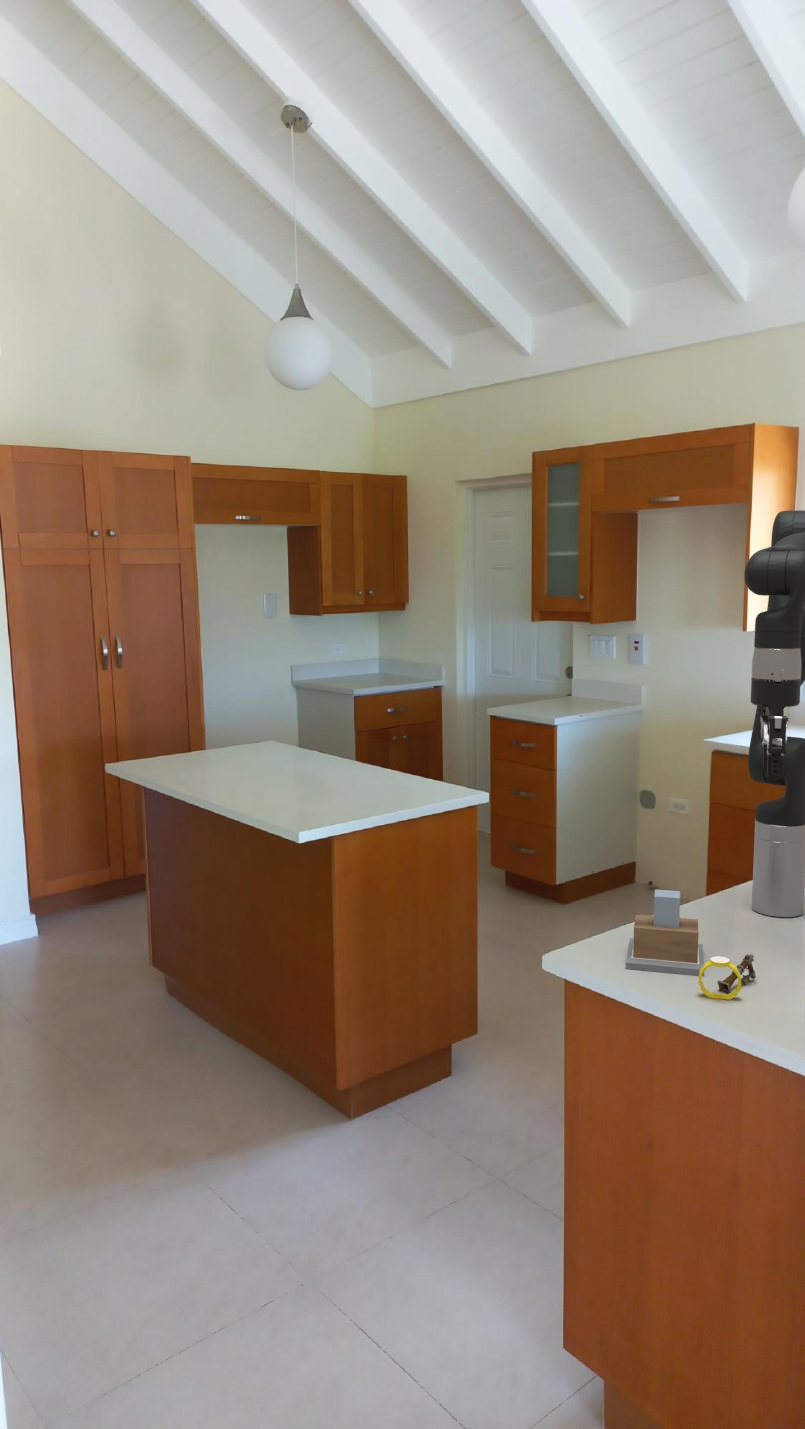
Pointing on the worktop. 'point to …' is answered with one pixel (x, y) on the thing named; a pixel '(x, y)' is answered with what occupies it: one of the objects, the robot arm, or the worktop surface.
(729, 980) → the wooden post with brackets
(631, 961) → the build pad
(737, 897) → the worktop surface
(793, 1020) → the worktop surface
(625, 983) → the worktop surface
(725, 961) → the watch
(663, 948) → the walnut block
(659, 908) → the gray block
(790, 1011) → the worktop surface
